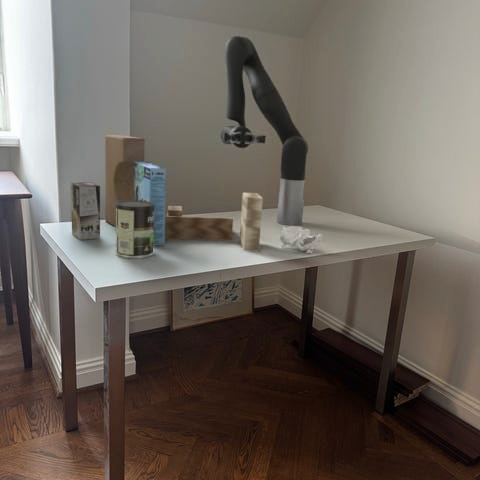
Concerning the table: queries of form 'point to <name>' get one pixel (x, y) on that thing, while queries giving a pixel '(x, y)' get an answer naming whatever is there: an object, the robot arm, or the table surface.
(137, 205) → the coffee can
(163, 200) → the light blue carton
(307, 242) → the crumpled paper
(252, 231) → the light wooden block
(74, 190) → the coffee box
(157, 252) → the table surface
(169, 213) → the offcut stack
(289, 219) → the robot arm
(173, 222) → the brown wooden block
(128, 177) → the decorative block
